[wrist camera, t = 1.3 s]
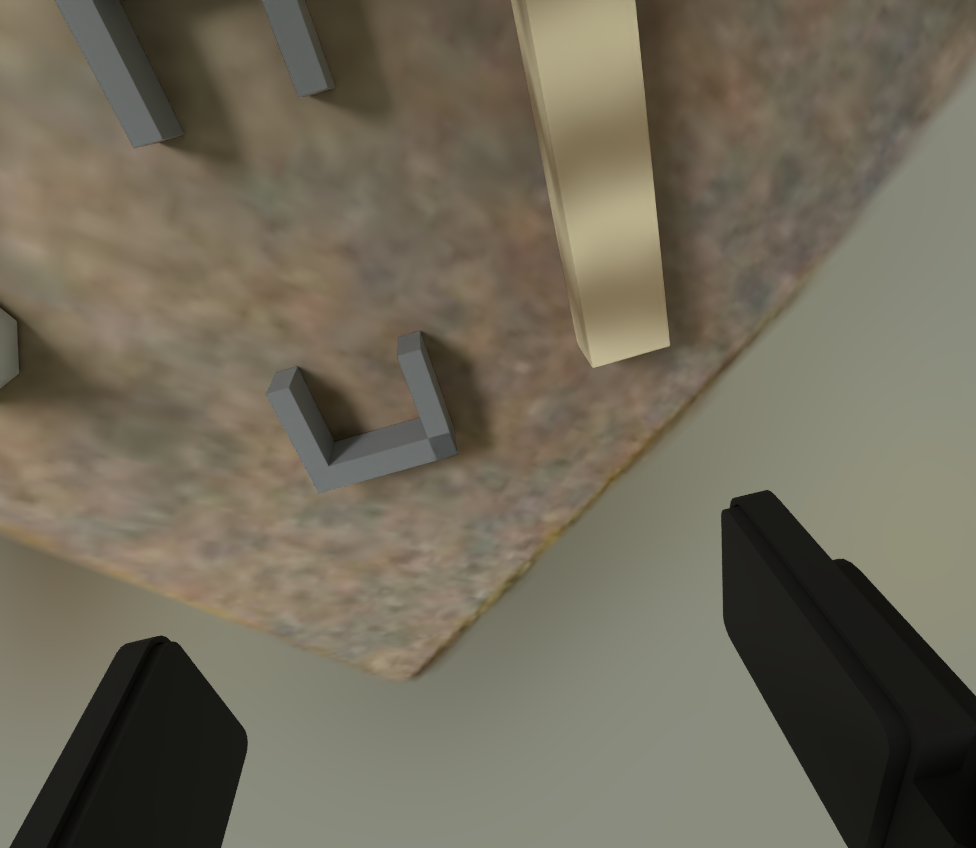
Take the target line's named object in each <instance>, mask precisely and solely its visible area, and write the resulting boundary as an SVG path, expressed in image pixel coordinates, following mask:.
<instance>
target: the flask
mask: <svg viewBox="0 0 976 848" xmlns="http://www.w3.org/2000/svg"><path fill="white" fill-rule="evenodd" d="M18 374H19V359H18V336H17V321H16V320H15V319H13V318H12V317H11V316H10V315H8V314H7V313H6V312H5V311H4V310H2V309H1V308H0V389H1V388H2V387H3V386H4V385H5V384H7V383H8V382H9V381H10V380H12V379H13V378H14V377H15V376H16V375H18Z"/></svg>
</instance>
